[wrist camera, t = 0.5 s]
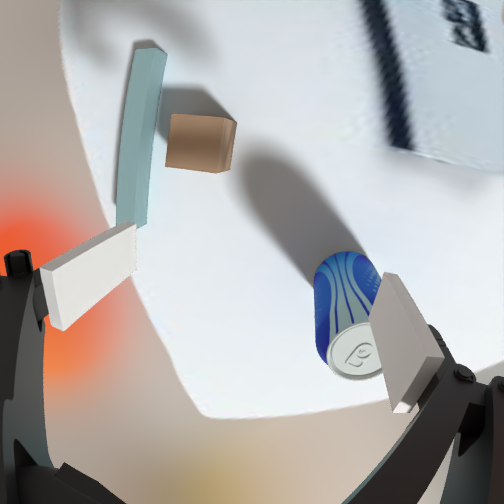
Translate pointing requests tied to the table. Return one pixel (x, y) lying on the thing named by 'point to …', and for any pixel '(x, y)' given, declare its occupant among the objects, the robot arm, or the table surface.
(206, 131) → the block
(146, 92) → the board
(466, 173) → the table surface
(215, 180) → the table surface
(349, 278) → the beer can
